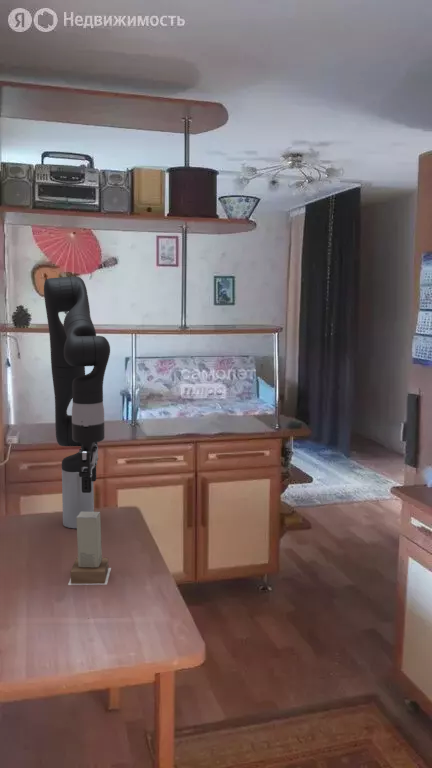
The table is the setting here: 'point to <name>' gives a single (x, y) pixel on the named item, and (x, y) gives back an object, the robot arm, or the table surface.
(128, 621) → the table surface
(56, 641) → the table surface
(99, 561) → the box
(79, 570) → the base block
